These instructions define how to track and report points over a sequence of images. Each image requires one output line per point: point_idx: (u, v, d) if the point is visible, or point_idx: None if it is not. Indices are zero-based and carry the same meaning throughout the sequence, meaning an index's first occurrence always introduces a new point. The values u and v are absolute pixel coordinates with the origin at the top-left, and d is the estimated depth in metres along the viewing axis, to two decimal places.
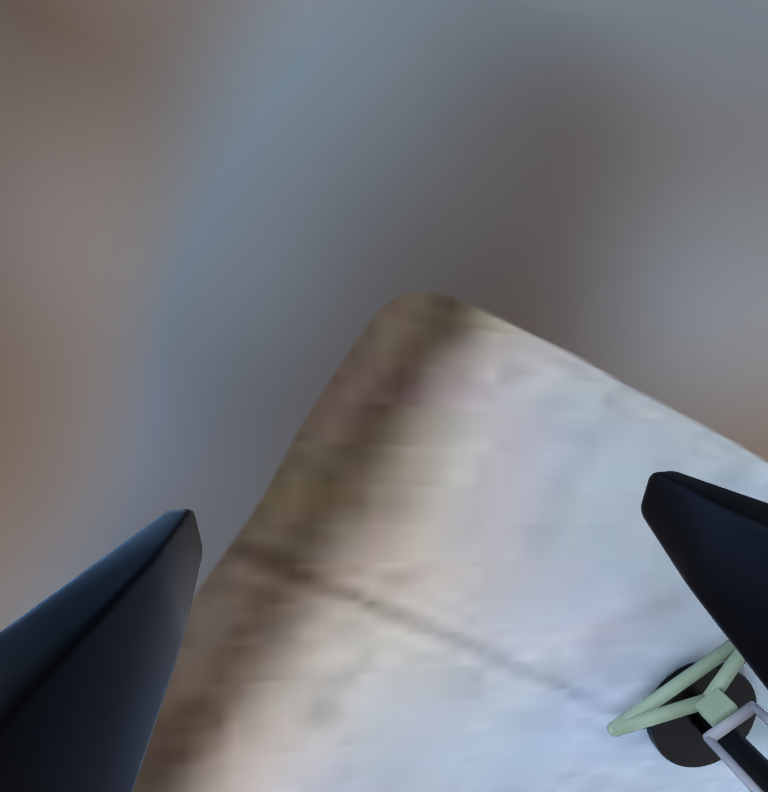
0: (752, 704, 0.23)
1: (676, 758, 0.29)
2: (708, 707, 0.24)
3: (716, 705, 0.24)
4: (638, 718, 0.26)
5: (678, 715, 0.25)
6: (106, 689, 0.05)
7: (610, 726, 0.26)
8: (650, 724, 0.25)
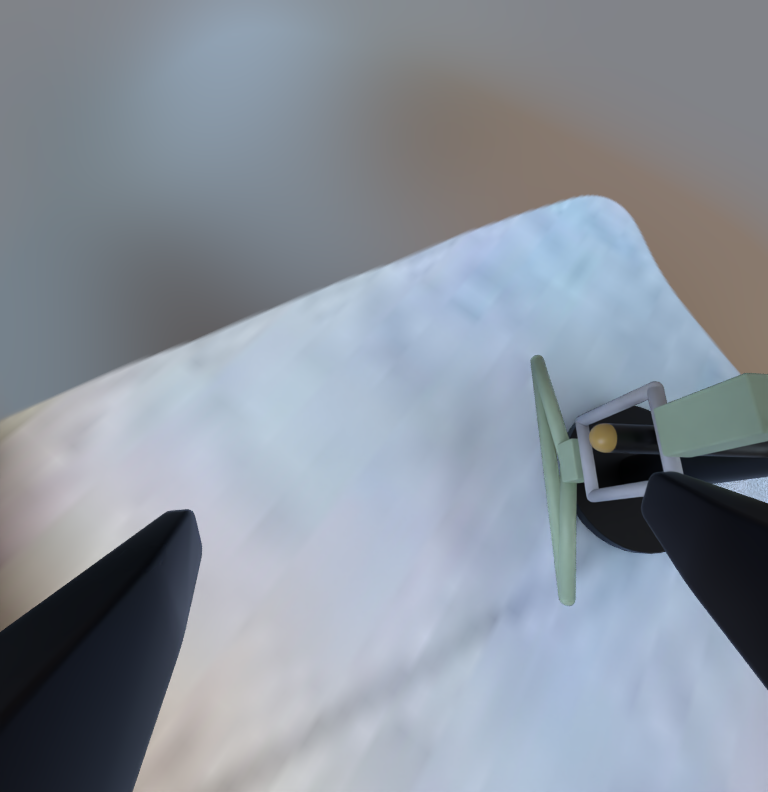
0: (578, 421, 0.18)
1: None
2: (567, 469, 0.18)
3: (567, 459, 0.18)
4: (561, 556, 0.18)
5: (571, 509, 0.18)
6: (106, 689, 0.05)
7: (560, 598, 0.18)
8: (571, 548, 0.18)
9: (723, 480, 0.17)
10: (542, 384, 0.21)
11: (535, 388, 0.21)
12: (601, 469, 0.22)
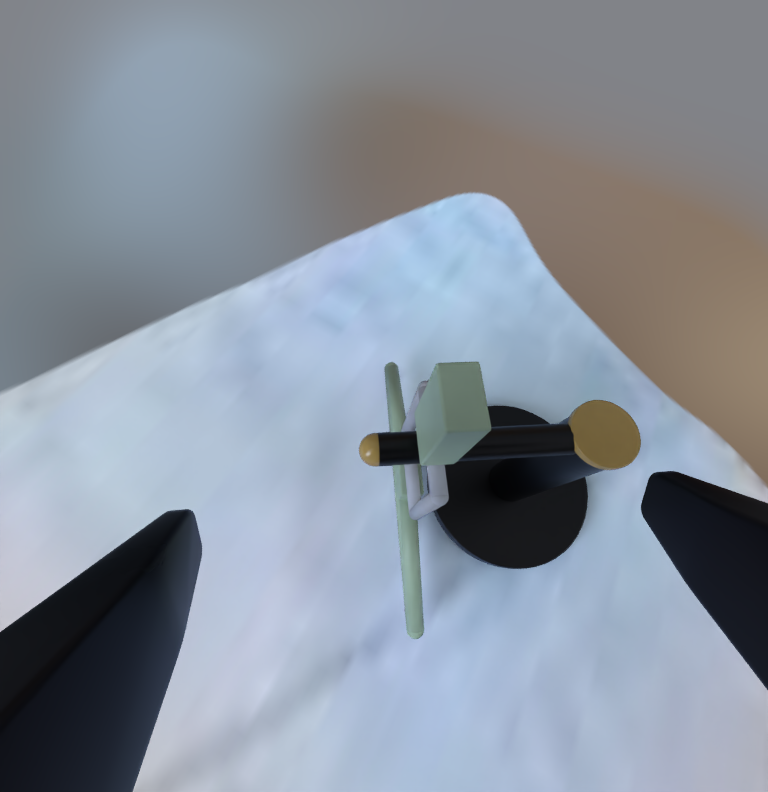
0: (404, 431, 0.16)
1: (551, 548, 0.19)
2: (398, 485, 0.16)
3: (397, 474, 0.16)
4: (405, 583, 0.17)
5: (409, 528, 0.16)
6: (106, 689, 0.05)
7: (407, 630, 0.16)
8: (412, 573, 0.16)
9: (558, 482, 0.15)
10: (390, 393, 0.19)
11: (387, 398, 0.20)
12: (469, 479, 0.20)
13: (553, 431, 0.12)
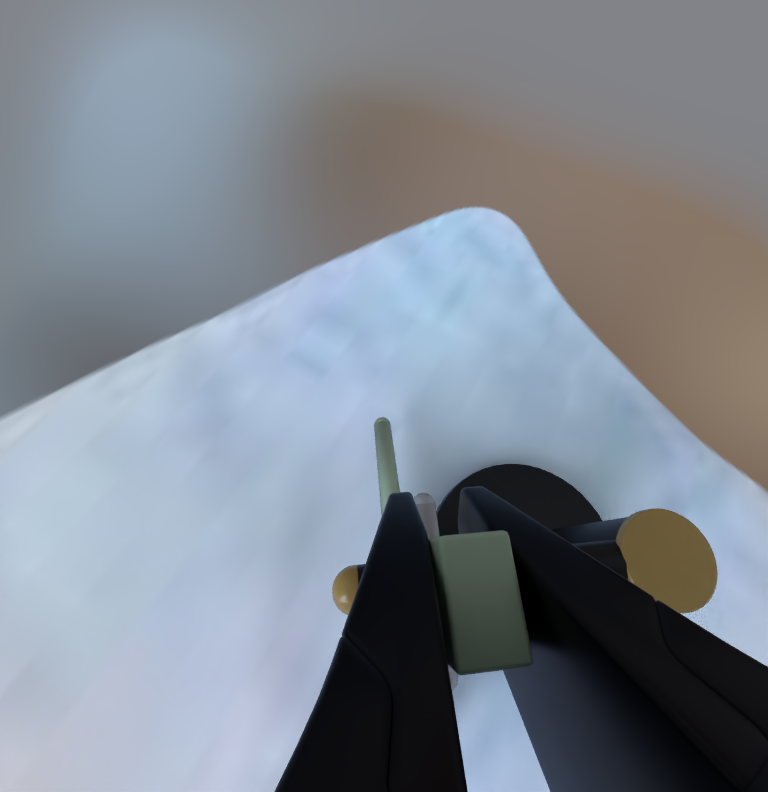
0: None
1: None
2: None
3: None
4: None
5: None
6: None
7: None
8: None
9: None
10: (380, 459, 0.16)
11: (377, 462, 0.17)
12: None
13: (598, 558, 0.09)
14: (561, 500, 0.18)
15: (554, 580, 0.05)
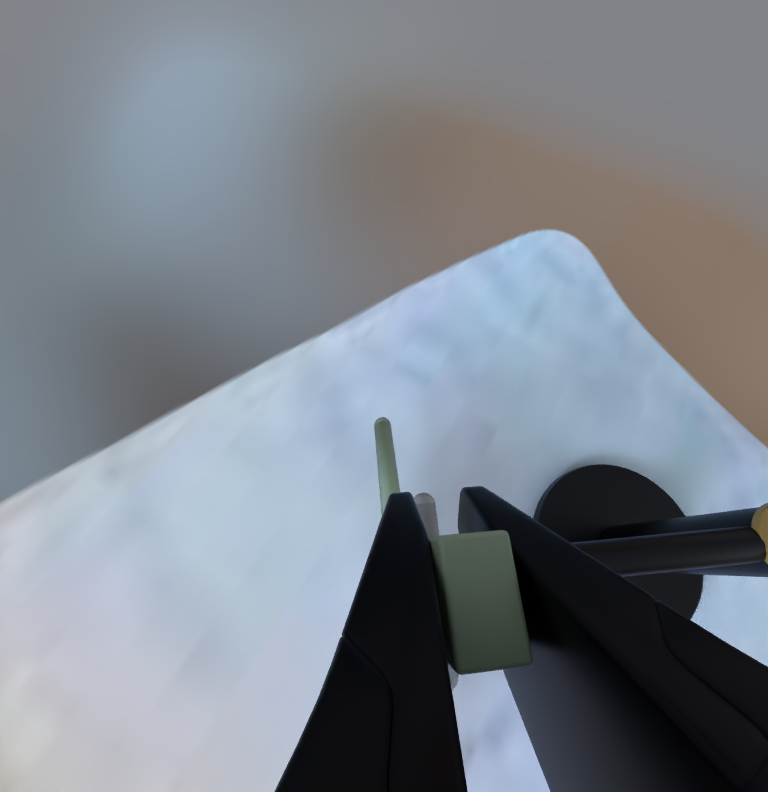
0: None
1: None
2: None
3: None
4: None
5: None
6: None
7: None
8: None
9: (713, 574, 0.14)
10: (380, 459, 0.16)
11: (378, 462, 0.17)
12: None
13: (742, 540, 0.11)
14: (647, 496, 0.20)
15: (554, 580, 0.05)
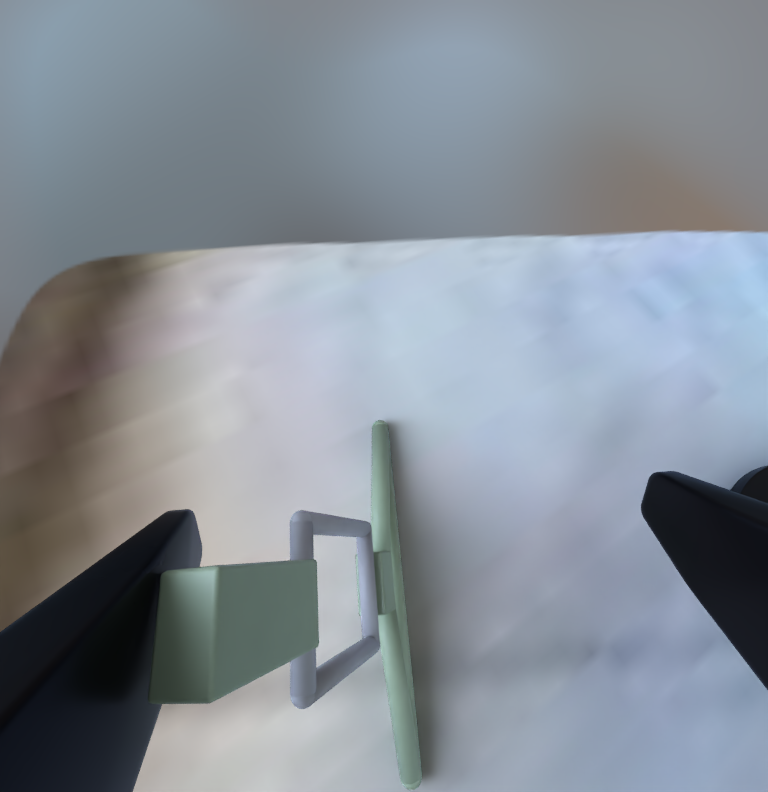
0: None
1: None
2: None
3: None
4: None
5: (387, 649, 0.13)
6: (106, 689, 0.05)
7: None
8: (395, 706, 0.13)
9: None
10: (372, 463, 0.16)
11: None
12: None
13: None
14: None
15: None
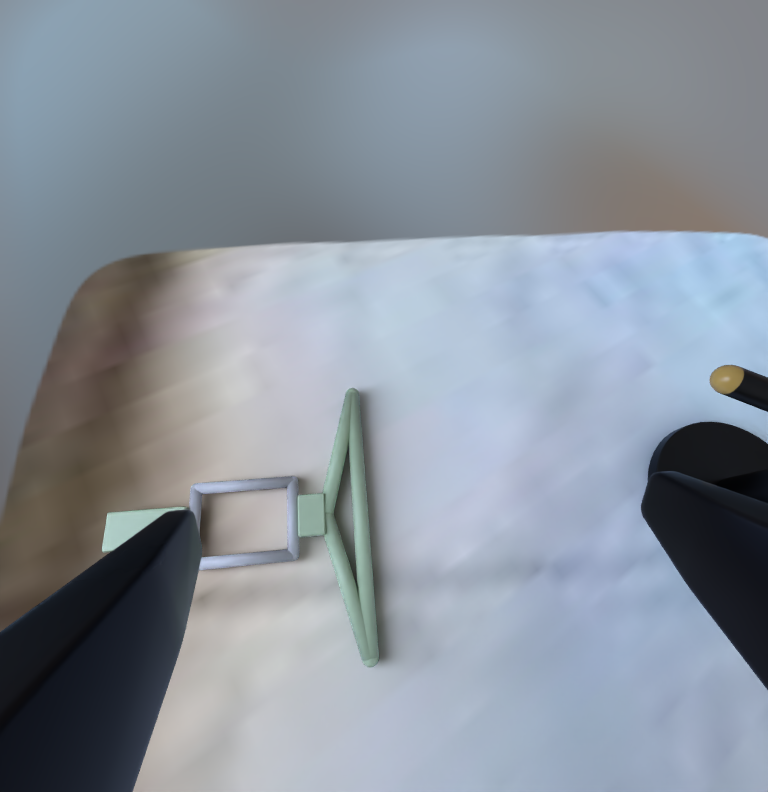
0: (293, 482, 0.19)
1: None
2: None
3: None
4: None
5: None
6: (106, 689, 0.05)
7: None
8: (344, 602, 0.17)
9: None
10: None
11: None
12: (696, 478, 0.20)
13: None
14: None
15: None
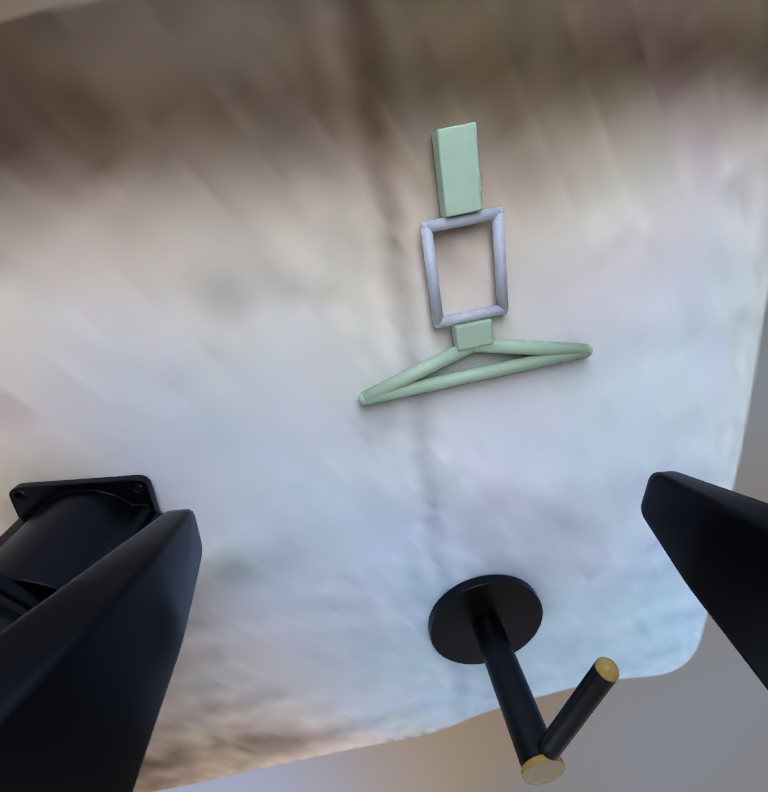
0: (501, 309, 0.20)
1: (436, 635, 0.28)
2: None
3: None
4: None
5: None
6: (106, 689, 0.05)
7: None
8: (402, 372, 0.20)
9: (505, 702, 0.23)
10: None
11: None
12: (501, 605, 0.27)
13: (560, 752, 0.20)
14: None
15: None
